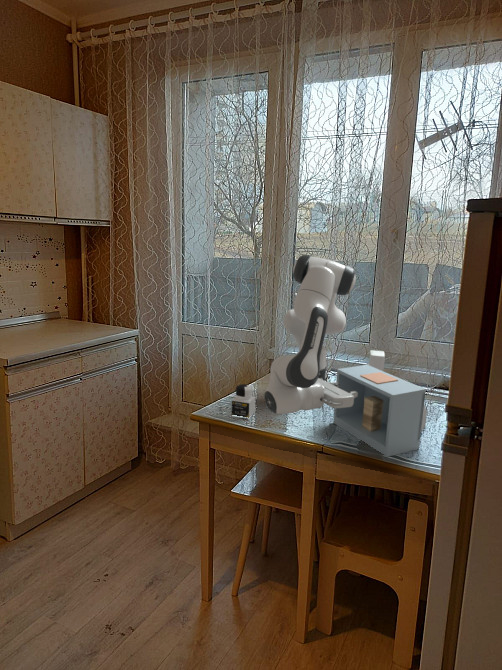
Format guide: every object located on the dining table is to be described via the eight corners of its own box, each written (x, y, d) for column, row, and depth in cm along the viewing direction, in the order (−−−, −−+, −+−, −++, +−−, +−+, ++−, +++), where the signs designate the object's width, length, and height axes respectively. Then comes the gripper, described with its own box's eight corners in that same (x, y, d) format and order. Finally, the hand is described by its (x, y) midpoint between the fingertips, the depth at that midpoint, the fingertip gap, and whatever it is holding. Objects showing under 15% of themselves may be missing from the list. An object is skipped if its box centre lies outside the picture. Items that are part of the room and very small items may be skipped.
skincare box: (367, 381, 227) (369, 349, 223) (381, 382, 226) (384, 350, 222) (367, 387, 219) (370, 354, 215) (382, 388, 218) (385, 355, 214)
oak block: (370, 431, 165) (373, 401, 163) (362, 426, 169) (364, 397, 167) (380, 429, 167) (383, 400, 165) (372, 424, 171) (374, 395, 169)
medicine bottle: (231, 417, 182) (231, 387, 179) (238, 410, 189) (238, 381, 186) (248, 420, 180) (249, 390, 177) (255, 413, 186) (255, 384, 183)
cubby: (387, 456, 154) (393, 394, 149) (333, 422, 179) (337, 368, 174) (419, 448, 160) (426, 388, 155) (362, 416, 185) (367, 363, 180)
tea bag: (425, 426, 178) (428, 401, 176) (420, 432, 173) (423, 406, 170) (415, 423, 180) (417, 398, 178) (410, 429, 175) (413, 404, 172)
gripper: (332, 396, 143) (368, 390, 149) (296, 376, 161) (329, 372, 167) (331, 415, 144) (367, 408, 151) (295, 394, 162) (328, 389, 168)
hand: (347, 389), depth 159 cm, fingers open, 8 cm apart
